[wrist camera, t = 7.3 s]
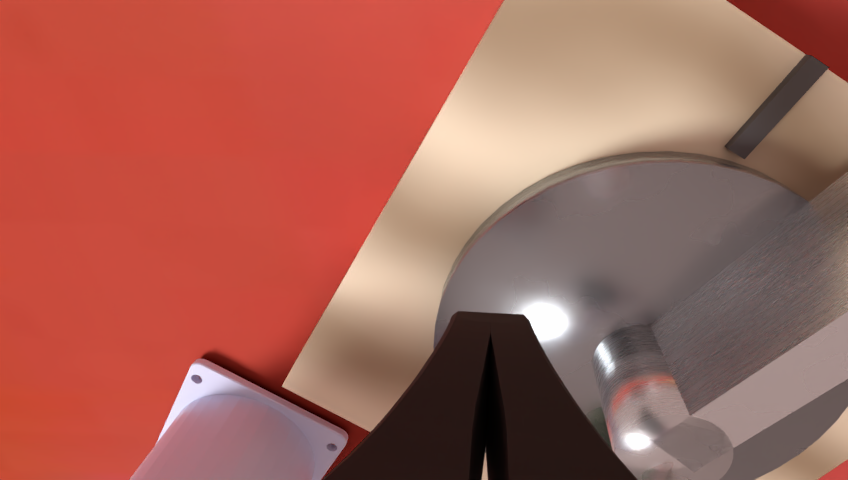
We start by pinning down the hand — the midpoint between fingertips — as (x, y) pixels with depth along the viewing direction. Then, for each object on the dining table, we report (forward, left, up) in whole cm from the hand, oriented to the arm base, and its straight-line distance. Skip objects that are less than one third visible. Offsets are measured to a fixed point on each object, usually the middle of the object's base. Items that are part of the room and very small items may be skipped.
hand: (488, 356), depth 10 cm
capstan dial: (0, -7, -8) cm, 11 cm away
